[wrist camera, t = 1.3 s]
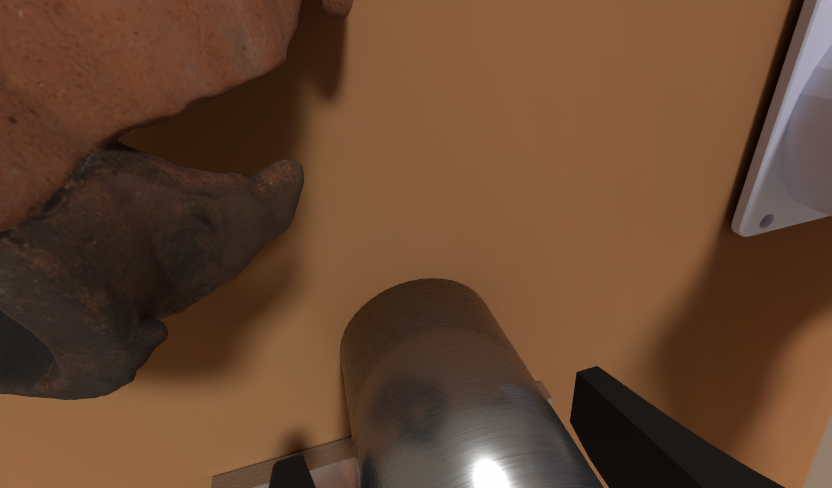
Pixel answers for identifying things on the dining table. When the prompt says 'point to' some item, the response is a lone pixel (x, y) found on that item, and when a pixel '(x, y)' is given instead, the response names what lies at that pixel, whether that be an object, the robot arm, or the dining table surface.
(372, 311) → the grey cylinder
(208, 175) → the pottery mug
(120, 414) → the dining table surface
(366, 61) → the dining table surface
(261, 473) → the flange plate
